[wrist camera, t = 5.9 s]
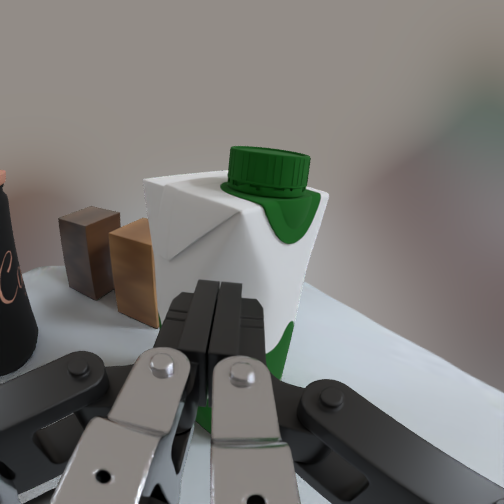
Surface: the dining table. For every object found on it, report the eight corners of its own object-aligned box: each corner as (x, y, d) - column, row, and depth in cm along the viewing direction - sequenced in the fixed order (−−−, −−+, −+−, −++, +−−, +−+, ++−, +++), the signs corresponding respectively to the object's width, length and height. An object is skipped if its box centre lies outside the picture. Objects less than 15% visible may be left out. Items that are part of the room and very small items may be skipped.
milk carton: (221, 457, 18) (246, 158, 9) (149, 388, 23) (127, 141, 15) (291, 397, 24) (348, 160, 16) (220, 348, 29) (235, 140, 21)
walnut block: (69, 286, 35) (58, 217, 31) (97, 270, 40) (91, 205, 36) (96, 300, 33) (85, 226, 29) (125, 281, 38) (120, 212, 34)
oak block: (117, 311, 32) (108, 232, 28) (147, 289, 37) (143, 217, 33) (157, 329, 30) (151, 245, 26) (184, 303, 36) (184, 226, 32)
